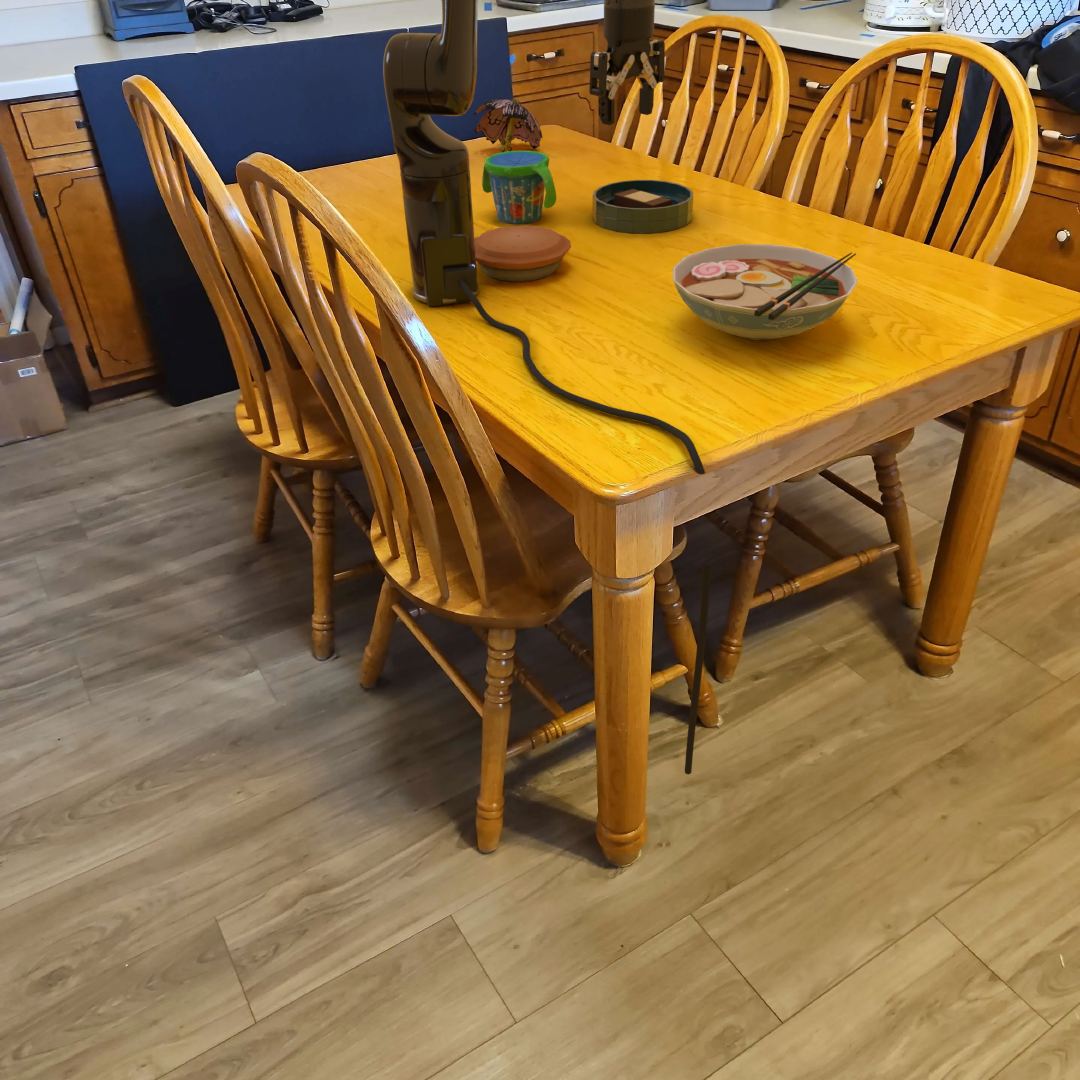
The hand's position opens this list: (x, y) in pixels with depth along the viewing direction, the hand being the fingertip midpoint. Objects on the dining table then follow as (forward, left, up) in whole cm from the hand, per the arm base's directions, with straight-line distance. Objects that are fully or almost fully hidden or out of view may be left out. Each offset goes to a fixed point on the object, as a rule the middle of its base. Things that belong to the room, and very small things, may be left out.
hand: (627, 118), depth 150 cm
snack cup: (+6, +17, -17) cm, 25 cm away
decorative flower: (+51, +11, -17) cm, 55 cm away
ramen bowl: (-47, -5, -17) cm, 50 cm away
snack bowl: (0, -3, -16) cm, 17 cm away
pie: (-17, +21, -17) cm, 31 cm away
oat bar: (0, -3, -16) cm, 16 cm away
